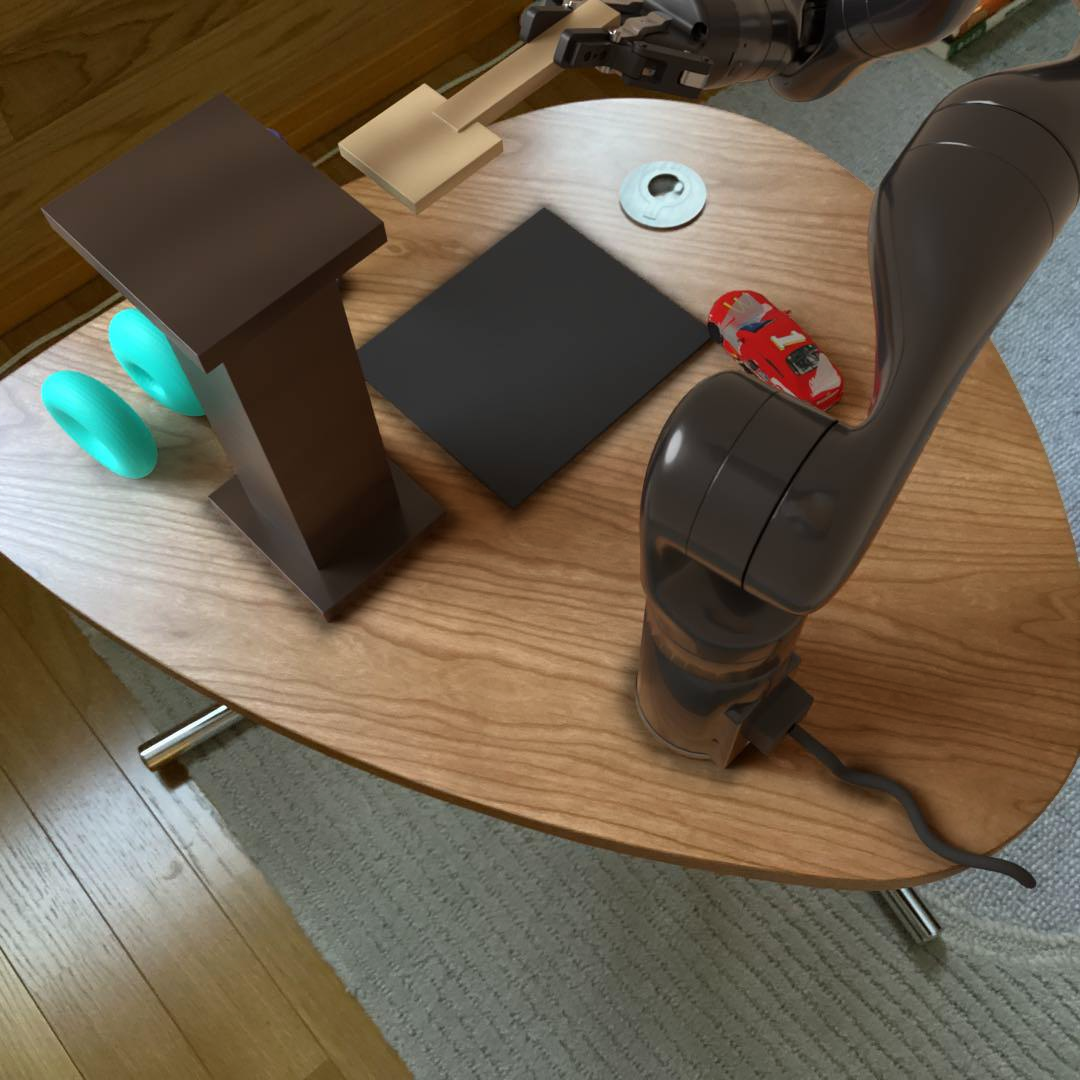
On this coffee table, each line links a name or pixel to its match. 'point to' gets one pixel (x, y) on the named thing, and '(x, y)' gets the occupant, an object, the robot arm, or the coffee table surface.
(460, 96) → the spatula
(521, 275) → the mat
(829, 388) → the race car
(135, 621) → the coffee table surface
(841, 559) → the robot arm
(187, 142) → the stand
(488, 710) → the coffee table surface
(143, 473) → the donuts
